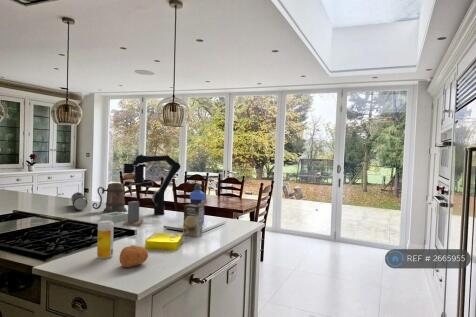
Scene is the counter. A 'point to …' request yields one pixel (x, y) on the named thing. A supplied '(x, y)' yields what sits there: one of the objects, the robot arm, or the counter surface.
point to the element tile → (163, 241)
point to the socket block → (114, 216)
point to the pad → (133, 223)
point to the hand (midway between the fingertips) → (138, 196)
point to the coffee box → (193, 220)
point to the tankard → (113, 198)
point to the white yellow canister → (105, 239)
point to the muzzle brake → (79, 201)
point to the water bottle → (197, 197)
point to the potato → (133, 256)
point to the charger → (133, 211)
